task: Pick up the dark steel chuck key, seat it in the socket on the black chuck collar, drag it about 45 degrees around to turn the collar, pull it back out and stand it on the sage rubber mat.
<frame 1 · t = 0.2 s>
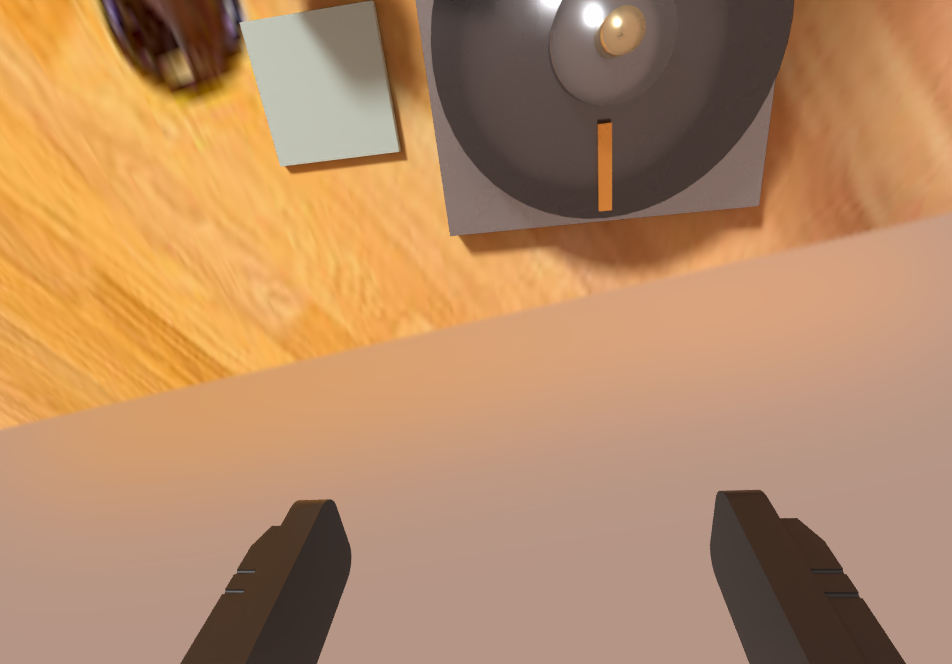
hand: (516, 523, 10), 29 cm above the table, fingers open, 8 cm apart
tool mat: (325, 89, 33), on the table
chuck collar: (608, 32, 25), point 7 cm above the table, hinge at 0.0°
drill stand: (591, 51, 31), on the table
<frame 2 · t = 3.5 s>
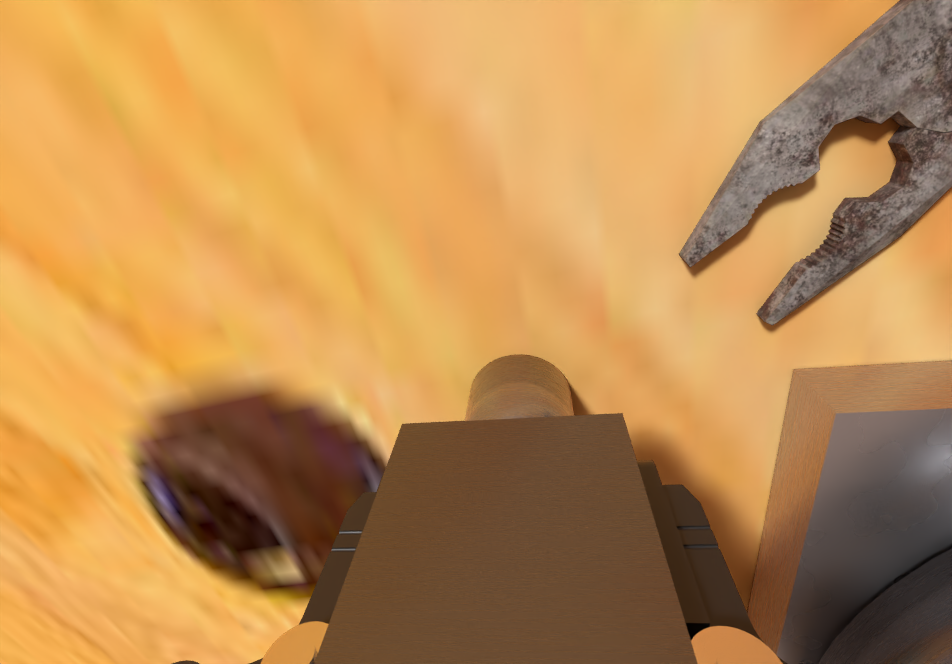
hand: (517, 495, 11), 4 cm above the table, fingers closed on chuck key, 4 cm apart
chuck key: (520, 398, 14), on the table, touching gripper
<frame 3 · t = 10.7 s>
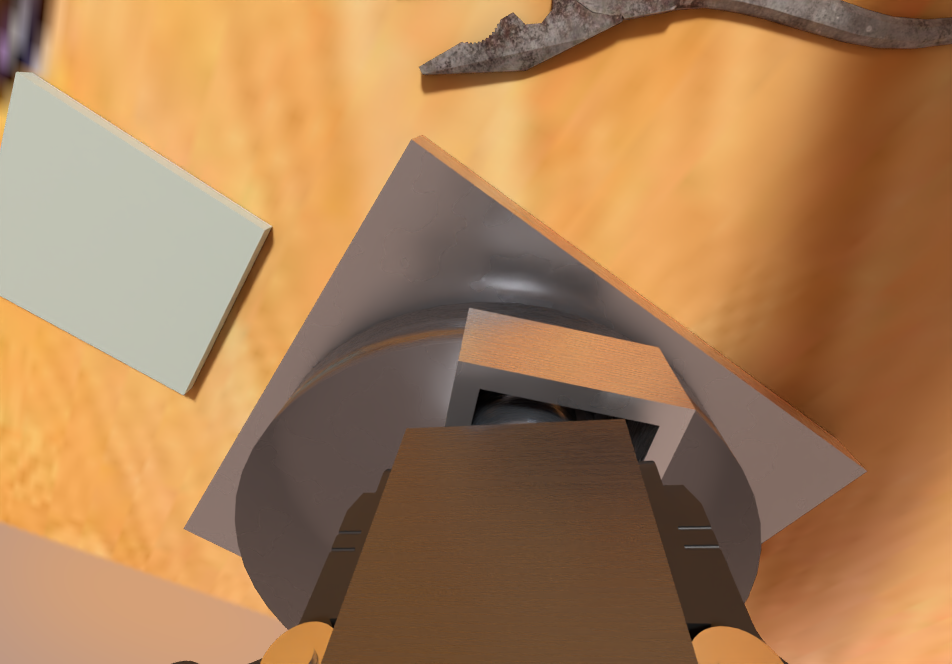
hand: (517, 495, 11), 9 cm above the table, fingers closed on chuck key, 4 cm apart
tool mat: (123, 252, 19), on the table
chuck collar: (488, 601, 16), point 7 cm above the table, hinge at 23.5°, touching chuck key
drill stand: (493, 470, 23), on the table
chuck key: (522, 403, 14), point 5 cm above the table, touching chuck collar, gripper
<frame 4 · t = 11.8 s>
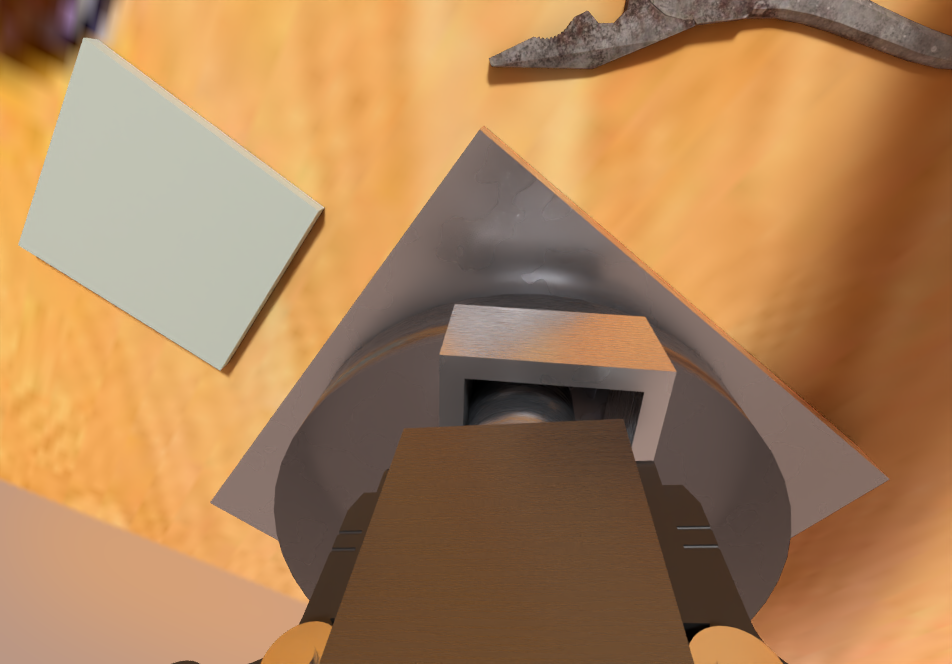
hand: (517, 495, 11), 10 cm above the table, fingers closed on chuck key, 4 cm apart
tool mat: (172, 225, 19), on the table
chuck collar: (521, 586, 17), point 7 cm above the table, hinge at 35.7°, touching chuck key
drill stand: (520, 461, 23), on the table
chuck key: (521, 401, 14), point 6 cm above the table, touching chuck collar, gripper
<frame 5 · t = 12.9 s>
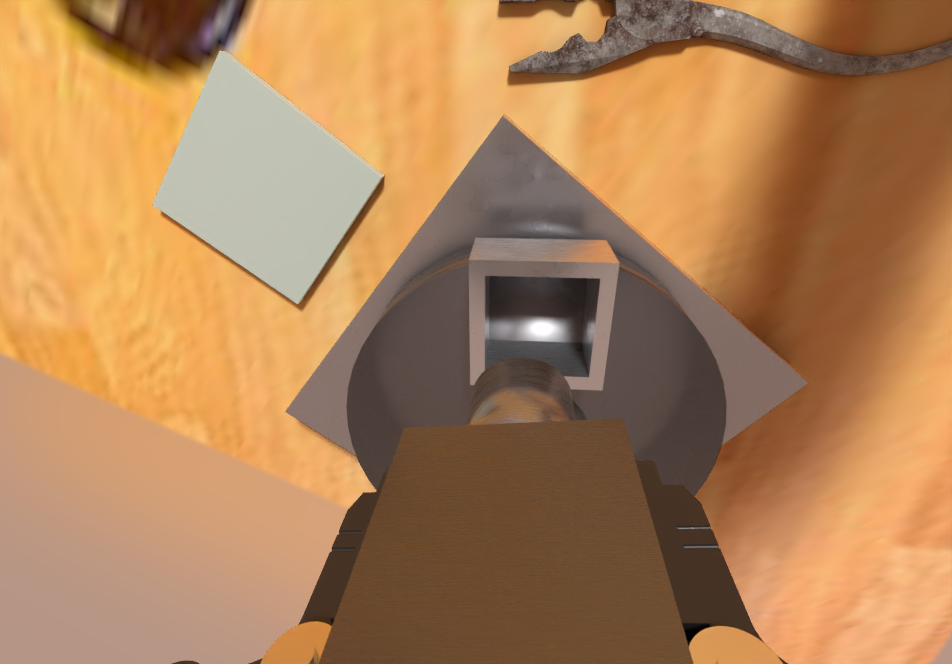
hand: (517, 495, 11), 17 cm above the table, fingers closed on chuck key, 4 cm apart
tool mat: (268, 189, 25), on the table
chuck collar: (530, 449, 23), point 7 cm above the table, hinge at 38.2°
drill stand: (528, 379, 29), on the table
chuck key: (521, 400, 14), point 13 cm above the table, touching gripper
pliers: (741, 14, 21), on the table
when the fingers open (5 cm above the table, at t = 18.2 s): chuck key stays where it is, resting on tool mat.
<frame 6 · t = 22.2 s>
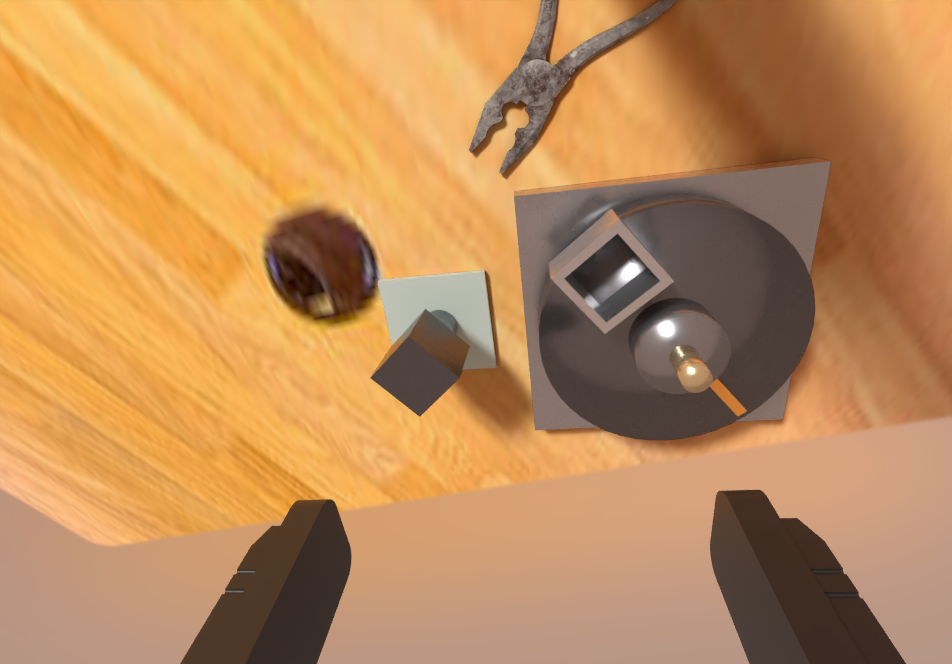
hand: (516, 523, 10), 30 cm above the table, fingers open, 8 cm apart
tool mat: (439, 323, 42), on the table
chuck collar: (673, 342, 33), point 7 cm above the table, hinge at 38.2°
drill stand: (653, 306, 40), on the table
chuck key: (440, 325, 41), point 1 cm above the table, touching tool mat
pliers: (587, 39, 32), on the table
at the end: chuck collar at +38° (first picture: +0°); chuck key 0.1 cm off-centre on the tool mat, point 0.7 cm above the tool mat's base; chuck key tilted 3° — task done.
